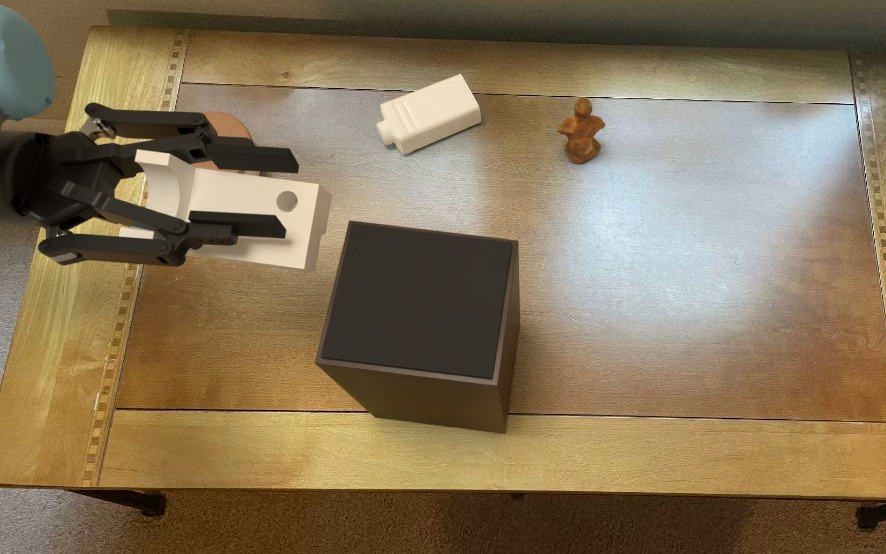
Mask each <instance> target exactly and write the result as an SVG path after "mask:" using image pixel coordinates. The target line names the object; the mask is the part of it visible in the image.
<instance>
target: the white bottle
mask: <svg viewBox="0 0 886 554" xmlns="http://www.w3.org/2000/svg"><path fill="white" fill-rule="evenodd" d="M380 111H381V115H382V119H383V120H382V121H378V122H377V123H376V130H377V132H378V135H379V136H380V139H381V140H382V143H383V144H384V145H386V146H389V145H392V144H394V145H395V147H396V148H397V150H398V151H399V152H400V153H401V155H408V154H411V153H413V151H417V150H418V149H422V148H423V147H426V146H428V145H430V144H432V143H435V142H437V141H439V140H442V139H444V138H448V137H450V136H452V135H454V134H457V133H459V132H461V131H464V130H466V129H468V128H471V127H473V126H476V125H479V124H481V123H482V114H481V108H480V105H479V103H478V102H477V100H476V98H475V96H474V94H473V93H472V91H471V90H470V88H469V85H468V84H467V82H466V80H465V78H464V77H463V75H462V73H458V74H456V75H454V76H451V77H449V78H445V79H443V80H440V81H437V82H435V83H432V84H429V85H428V86H425V87H422V88H420V89H418V90H417V89H416V90H415V91H413V92H412V91H411V92H410V93H407V94H404V95H401V96H399V97H396V98H394V99H391V100H388V101H385V102H382V103H381V104H380Z"/></svg>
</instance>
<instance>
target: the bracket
mask: <svg viewBox="0 0 886 554" xmlns="http://www.w3.org/2000/svg"><path fill="white" fill-rule="evenodd" d="M135 162H137V163H138V164H139V165H140V166H141V167H142V169H143V170H144V172H143V173H144V175H145V178H146V183H147V199H146V200H147V201H146V203H145V208H148V209H151V210H154V211H157V212H160V213H164V214H167V215H170V216H173V217H176V218H179V219H182V220H184V221H185V222H190V221H189V220H188V217H189V213H190V210H194V211H212V212H230V213H248V214H267V215H276V216H277V218H278V219H279V220H280V222H281V223H282V224H283V226H284V227H285V229H286V230H287V231H286V236H285V239H281V238H263V237H245V236H238V240H237V244H235V245H231V246H223V245H222V246H221V245H203V246H202V247H201V248H200V249H198V250H192V249H191V248H190V249H189V250H188V252H187V253H186V255H185V256H189V257H196V258H201V259H202V258H203V259H210V260H217V261H223V262H231V263H232V262H233V263H239V264H246V265H253V266H259V267H260V266H261V267H266V268H267V267H268V268H273V269H274V268H275V269H283V270H290V271H297V272H304V273H312V274H315V273H316V267H317V263H318V257H319V251H320V245H321V240H322V234H323V235H326V233H327V227H328V221H329V217H330V210H331V205H332V199H333V194H332V192H330V191H328V189H327V188H325V187H324V186H323V185H321V184H320V183H313V182H305V181H297V180H290V179H283V178H277V177H276V178H275V177H268V176H260V175H259V176H253V175H246V174H238V173H231V172H223V171H216V170H208V169H201V168H195V167H193V166H192V165H190V164H188V163H186V162H184V161H182V160H180V159H179V158H177V157H175V156H173V155H171V154H168V153H160V152H153V151H145V150H138V149H137V153H136V157H135ZM296 203H297V204H296ZM295 205H296V206H295ZM294 206H295V207H294ZM293 207H294V208H293ZM118 236H119V237H132V238H146V239H159V240H165V239H166V238H165V237H163V236H162V235H161V234H160V233H159V232H155V231H151V230H147V229H142V228H139V227H135V226H130V227H128V226H126V227H125V226H124V227H123V226H120V230H119V234H118Z"/></svg>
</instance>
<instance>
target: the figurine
mask: <svg viewBox="0 0 886 554" xmlns="http://www.w3.org/2000/svg"><path fill="white" fill-rule="evenodd" d="M573 111H574V112H573V113H574V115H573V116H571V117H566V118H564V119H563V122H562V123H561V124H560V125H558V127H557V129H556V132H557V133H558V134H560V135H564V136H565V137H566V138H567V142H566V143H565V144H564V150H565V152H566V156H567V157H568V159H569V161H571V162H572V163H574V164H579V165H580V164H583V163H586V162H588V161H589V160H591V159H592V158H594V157H596V156H597V155H598V154H599V153H600V151H601V143H600V142H599V141H598V140H597V139H596V138H595V137H594V136H595V135H596V134H597V133H598V132H600V130H603V129H604V128H605V127H606V123H605V121H604V120H603V119H602V117H601V116H597V115H594V114H593V115H592V113H593V105H592V103H591V100H590V99H589V98H587V97H586V96H582V97H579V98H578V99H576V100H575V104H574V106H573Z"/></svg>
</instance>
